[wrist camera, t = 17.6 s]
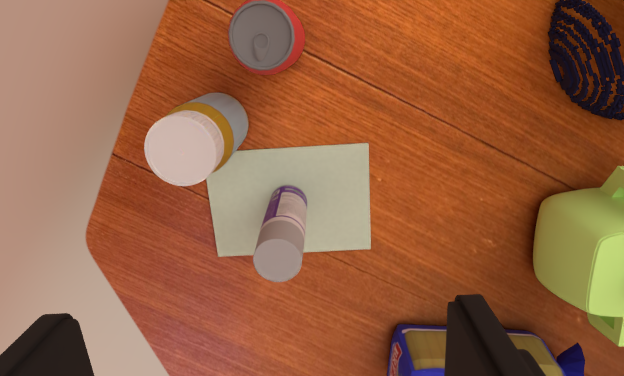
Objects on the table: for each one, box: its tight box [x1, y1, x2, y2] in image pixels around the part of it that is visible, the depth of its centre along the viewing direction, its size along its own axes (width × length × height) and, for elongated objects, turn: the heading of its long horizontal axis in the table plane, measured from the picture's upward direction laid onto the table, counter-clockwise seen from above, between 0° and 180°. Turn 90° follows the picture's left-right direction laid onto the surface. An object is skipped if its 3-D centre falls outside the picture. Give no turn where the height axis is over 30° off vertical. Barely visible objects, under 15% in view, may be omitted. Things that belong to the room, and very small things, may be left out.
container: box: [253, 185, 307, 282], centre depth 45 cm, size 5×5×15 cm
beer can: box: [228, 0, 305, 75], centre depth 40 cm, size 7×7×12 cm
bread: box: [387, 324, 585, 376], centre depth 54 cm, size 10×25×10 cm, turn 87°
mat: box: [206, 143, 371, 257], centre depth 52 cm, size 20×14×1 cm
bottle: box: [144, 92, 249, 186], centre depth 42 cm, size 7×7×15 cm
